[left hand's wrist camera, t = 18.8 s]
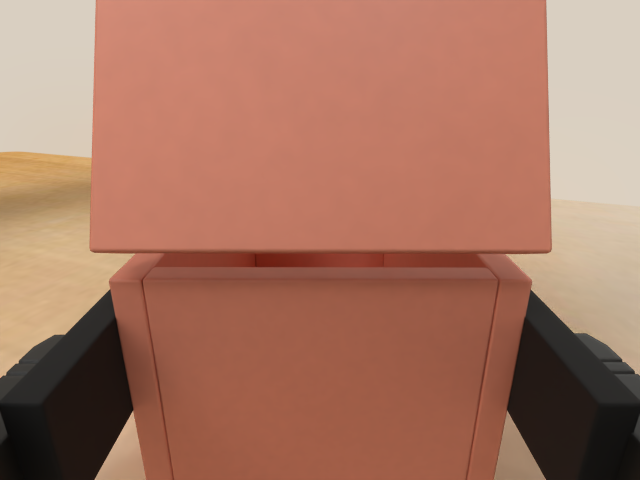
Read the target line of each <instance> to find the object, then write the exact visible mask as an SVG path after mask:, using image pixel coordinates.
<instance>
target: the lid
mask: <svg viewBox="0 0 640 480" xmlns="http://www.w3.org/2000/svg"><path fill="white" fill-rule="evenodd" d="M551 249H552V239H551V195H550V152H549V108H548V64H547V19H546V0H96V17H95V56H94V96H93V135H92V174H91V213H90V251H92V252H94V253H213V254H542V253H549V252H551Z"/></svg>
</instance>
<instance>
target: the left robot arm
mask: <svg viewBox="0 0 640 480" xmlns="http://www.w3.org/2000/svg"><path fill="white" fill-rule="evenodd" d="M132 411H133V406H132V401H131V395H130V390H129V385H128V380H127V374H126V369H125V364H124V358H123V353H122V348H121V343H120V337H119V332H118V327H117V321H116V316H115V311H114V306H113V300H112V295H111V290H109V291H108V292H107V293H106V294H105V295H104V296H103V297H102V298H101V299H100V300H99V301H98V302H97V303H96V304H95V305H94V306H93V307H92V308H91V309H90V310H89V311H88V312H87V313H86V314H85V315H84V316H83V317H82V318H81V319H80V320H79V321H78V322H77V323H76V324H75V325H74V326H73V327H72V328H71V329H70V330H69V331H68V332H67V333H66V334H65V335H54V336H52V337H50V338H48V339H47V340H45V341H43V342H41V343H40V344H38V345H36V346H34V347H33V348H32V349H31V350H30V351H29V352H28V353H27V354H26V355H25V356H24V357H23V358H21V359H20V360H19V363H18V364H15V365H14V366H13V367H12V368H11V369H10V370H9V371H8V372H7V374H6V376H2V377H1V378H0V480H94V479H95V477H96V476H97V474H98V472H99V470H100V468H101V467H102V465H103V463H104V461H105V460H106V458H107V456H108V454H109V452H110V451H111V449H112V447H113V445H114V443H115V442H116V440H117V438H118V436H119V435H120V433H121V431H122V429H123V427H124V426H125V424H126V422H127V420H128V418H129V417H130V415H131V413H132ZM507 411H508V412H509V414H510V416H511V418H512V419H513V421H514V423H515V425H516V427H517V428H518V430H519V432H520V434H521V436H522V437H523V439H524V441H525V443H526V444H527V446H528V448H529V450H530V452H531V453H532V455H533V457H534V459H535V461H536V462H537V464H538V466H539V468H540V469H541V471H542V473H543V475H544V477H545V478H546V480H640V376H639V375H638V374H635V371H634V370H633V369H632V368H631V367H630V366H629V365H627V364H626V363H625V362H622V359H621V358H620V357H619V356H618V355H617V354H616V353H615V352H614V351H613V350H611V349H610V348H609V347H608V346H607V345H605V344H604V343H602V342H600V341H598V340H597V339H595V338H593V337H591V336H590V335H588V334H586V333H573V332H572V331H571V330H570V329H569V328H568V327H567V326H566V325H565V324H564V323H563V322H562V321H561V320H560V319H559V318H558V317H557V316H556V315H555V314H554V313H553V312H552V311H551V310H550V309H549V308H548V307H547V306H546V305H545V304H544V303H543V302H542V301H541V300H540V299H539V298H538V296H537V295H536V294H535V293H534V292H533V291H532V290H530V296H529V301H528V306H527V311H526V316H525V319H524V325H523V330H522V335H521V340H520V345H519V351H518V356H517V361H516V366H515V371H514V376H513V382H512V387H511V392H510V397H509V402H508V408H507Z"/></svg>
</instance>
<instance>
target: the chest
mask: <svg viewBox="0 0 640 480" xmlns="http://www.w3.org/2000/svg"><path fill="white" fill-rule="evenodd" d="M109 284H110V290H111V295H112V300H113V306H114V311H115V316H116V321H117V327H118V332H119V337H120V343H121V348H122V353H123V358H124V364H125V369H126V374H127V380H128V385H129V390H130V395H131V401H132V406H133V411H134V417H135V422H136V427H137V432H138V438H139V443H140V448H141V454H142V459H143V464H144V469H145V475H146V480H494V475H495V469H496V464H497V459H498V454H499V449H500V444H501V439H502V434H503V429H504V423H505V418H506V413H507V408H508V402H509V397H510V392H511V387H512V382H513V376H514V371H515V366H516V361H517V356H518V351H519V345H520V340H521V335H522V330H523V325H524V319H525V316H526V311H527V306H528V301H529V296H530V290H531V285H532V280H531V279H530V278H529V277H528V276H527V275H526V274H525V273H524V272H523V271H522V270H521V269H520V268H519V267H518V266H517V265H516V264H515V263H514V262H513V261H511V260H510V259H509V258H508V257H507V256H506V255H505V254H213V253H136V254H135V255H134V256H133V257H132V258H131V259H130V260H129V261H128V262H127V263H126V264H125V265H124V266H123V267H122V268H121V269H120V270H119V271H118V272H117V273H115V274H114V275H113V276H112V277H111V278H110V280H109Z"/></svg>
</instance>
